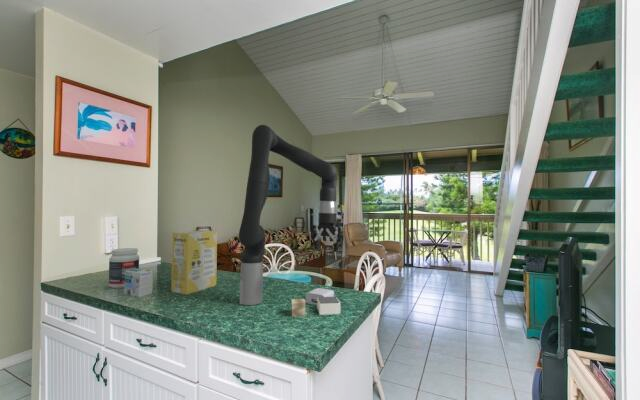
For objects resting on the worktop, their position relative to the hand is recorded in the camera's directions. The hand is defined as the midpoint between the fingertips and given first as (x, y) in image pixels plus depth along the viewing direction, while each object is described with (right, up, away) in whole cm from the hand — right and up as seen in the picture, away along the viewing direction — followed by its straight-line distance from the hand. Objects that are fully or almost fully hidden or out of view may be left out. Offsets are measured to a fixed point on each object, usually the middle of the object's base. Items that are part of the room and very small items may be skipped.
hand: (326, 250), depth 123 cm
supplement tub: (-103, -23, +27) cm, 109 cm away
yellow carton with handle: (-65, -23, +23) cm, 73 cm away
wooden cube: (-11, -22, -11) cm, 27 cm away
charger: (-1, -23, +7) cm, 24 cm away
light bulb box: (-87, -23, +13) cm, 91 cm away
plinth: (+1, -22, -7) cm, 23 cm away
